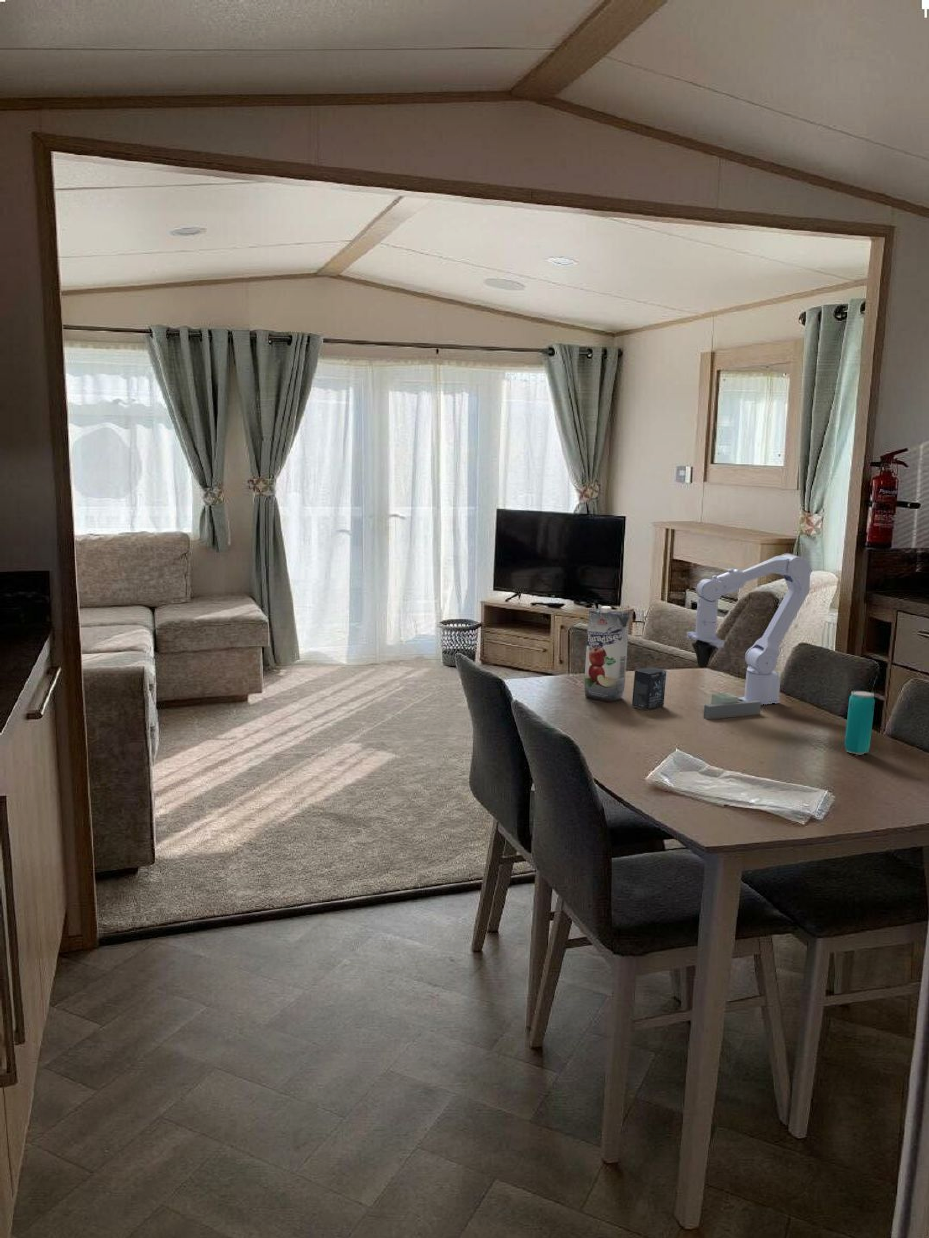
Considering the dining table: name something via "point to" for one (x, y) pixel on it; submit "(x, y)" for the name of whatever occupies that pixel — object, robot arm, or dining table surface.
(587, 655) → the juice carton
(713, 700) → the block
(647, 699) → the box
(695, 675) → the dining table surface
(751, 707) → the board
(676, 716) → the dining table surface
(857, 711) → the beverage can
